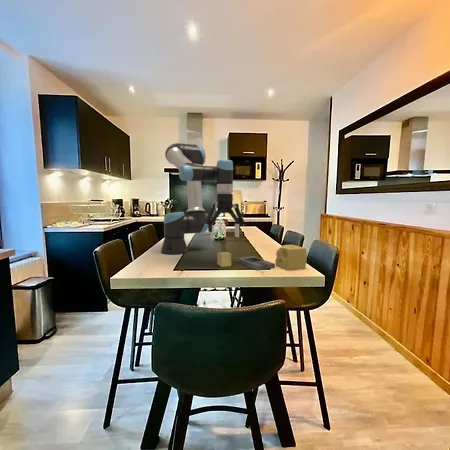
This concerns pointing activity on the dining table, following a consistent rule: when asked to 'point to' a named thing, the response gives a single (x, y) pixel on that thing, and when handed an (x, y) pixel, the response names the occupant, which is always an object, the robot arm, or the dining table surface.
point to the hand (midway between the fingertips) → (224, 238)
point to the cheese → (291, 257)
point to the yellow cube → (224, 259)
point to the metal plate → (256, 263)
